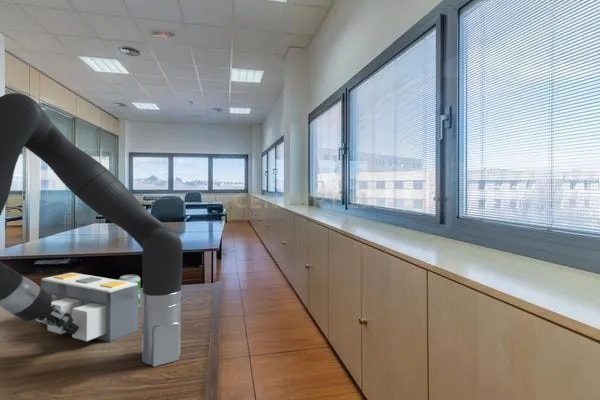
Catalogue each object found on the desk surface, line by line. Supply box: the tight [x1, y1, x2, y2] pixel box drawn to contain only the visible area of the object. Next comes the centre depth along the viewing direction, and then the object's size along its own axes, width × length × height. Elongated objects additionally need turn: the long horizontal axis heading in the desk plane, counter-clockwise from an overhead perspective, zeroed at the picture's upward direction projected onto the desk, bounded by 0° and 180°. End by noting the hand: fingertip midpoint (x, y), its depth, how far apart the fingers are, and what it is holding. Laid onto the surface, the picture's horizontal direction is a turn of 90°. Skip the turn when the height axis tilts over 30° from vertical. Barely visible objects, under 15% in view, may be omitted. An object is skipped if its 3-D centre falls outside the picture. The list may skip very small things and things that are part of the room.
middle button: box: [47, 297, 81, 335], centre depth 102 cm, size 9×6×8 cm, turn 157°
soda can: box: [117, 274, 141, 308], centre depth 123 cm, size 8×8×12 cm
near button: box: [71, 302, 107, 342], centre depth 97 cm, size 9×6×8 cm, turn 157°
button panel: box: [40, 272, 139, 343], centre depth 107 cm, size 10×32×15 cm, turn 67°
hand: (74, 330), depth 92 cm, fingers closed
